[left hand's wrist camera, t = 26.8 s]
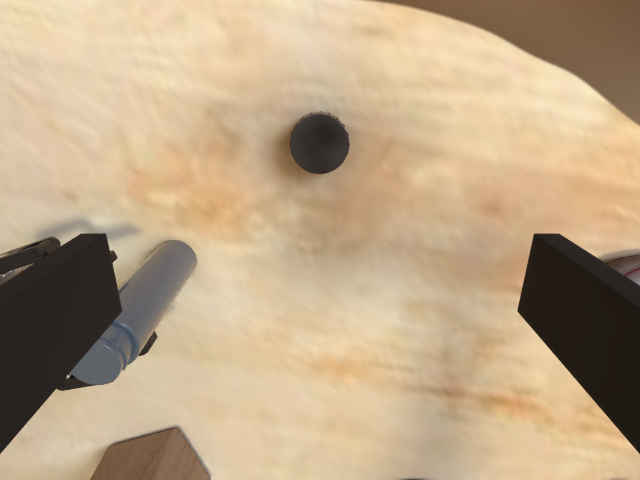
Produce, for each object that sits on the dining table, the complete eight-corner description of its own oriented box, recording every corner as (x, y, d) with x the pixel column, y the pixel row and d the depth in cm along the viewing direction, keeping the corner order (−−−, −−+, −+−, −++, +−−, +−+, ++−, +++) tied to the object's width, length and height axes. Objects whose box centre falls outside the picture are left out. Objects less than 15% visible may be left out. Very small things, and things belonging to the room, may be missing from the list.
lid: (282, 152, 37) (279, 157, 35) (307, 100, 35) (306, 102, 33) (331, 178, 38) (331, 184, 36) (358, 128, 36) (360, 132, 34)
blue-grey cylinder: (199, 245, 41) (128, 343, 26) (193, 281, 42) (123, 394, 27) (156, 235, 40) (58, 329, 25) (152, 272, 42) (58, 382, 27)
